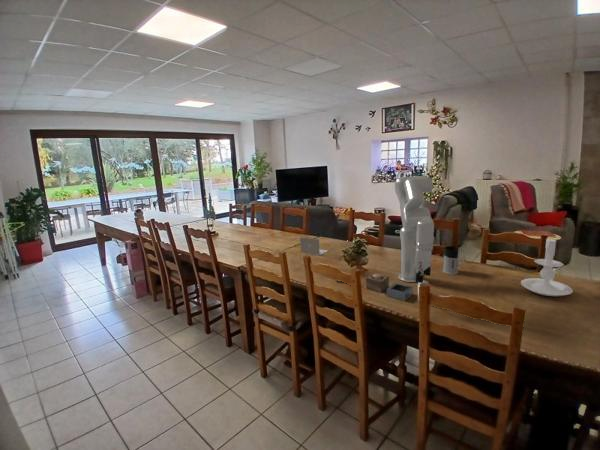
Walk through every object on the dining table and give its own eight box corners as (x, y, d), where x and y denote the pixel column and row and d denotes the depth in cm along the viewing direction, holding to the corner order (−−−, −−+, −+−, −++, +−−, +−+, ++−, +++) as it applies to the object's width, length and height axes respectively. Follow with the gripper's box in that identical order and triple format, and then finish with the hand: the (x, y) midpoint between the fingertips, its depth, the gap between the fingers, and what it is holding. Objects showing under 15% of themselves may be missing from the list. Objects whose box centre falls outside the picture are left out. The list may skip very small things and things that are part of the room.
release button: (375, 283, 177) (375, 273, 175) (383, 285, 174) (383, 274, 172) (371, 285, 173) (371, 275, 172) (379, 287, 170) (379, 277, 169)
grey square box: (374, 283, 180) (374, 273, 179) (388, 286, 174) (388, 276, 173) (366, 288, 174) (366, 278, 172) (381, 292, 168) (380, 281, 166)
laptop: (328, 251, 244) (327, 235, 242) (319, 256, 235) (318, 239, 232) (310, 248, 256) (309, 233, 253) (300, 252, 246) (299, 236, 243)
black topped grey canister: (450, 268, 196) (451, 245, 192) (469, 275, 182) (470, 251, 179) (439, 270, 193) (440, 247, 190) (457, 278, 180) (458, 253, 177)
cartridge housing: (395, 289, 170) (395, 282, 169) (413, 294, 163) (413, 286, 163) (386, 296, 163) (386, 289, 162) (405, 301, 156) (405, 293, 155)
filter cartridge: (419, 297, 159) (420, 279, 157) (429, 300, 155) (430, 281, 153) (415, 301, 155) (416, 282, 153) (426, 304, 152) (426, 285, 150)
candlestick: (578, 289, 158) (586, 235, 152) (566, 305, 143) (574, 247, 137) (529, 278, 174) (535, 229, 168) (514, 292, 159) (519, 239, 153)
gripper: (423, 239, 158) (422, 270, 162) (409, 249, 146) (408, 283, 150) (438, 242, 153) (437, 274, 157) (425, 252, 141) (424, 287, 145)
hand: (423, 278), depth 154 cm, fingers open, 9 cm apart
